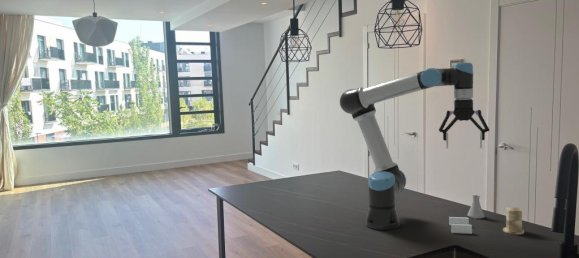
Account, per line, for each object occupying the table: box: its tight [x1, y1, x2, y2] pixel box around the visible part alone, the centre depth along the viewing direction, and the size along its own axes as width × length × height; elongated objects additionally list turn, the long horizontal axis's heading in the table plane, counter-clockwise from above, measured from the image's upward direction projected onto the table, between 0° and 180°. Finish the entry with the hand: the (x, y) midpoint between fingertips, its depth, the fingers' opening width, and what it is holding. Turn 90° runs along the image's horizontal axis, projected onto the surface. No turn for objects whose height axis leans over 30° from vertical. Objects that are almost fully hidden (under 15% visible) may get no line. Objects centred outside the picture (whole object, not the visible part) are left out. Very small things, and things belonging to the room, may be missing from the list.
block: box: [505, 206, 523, 232], centre depth 183 cm, size 5×5×9 cm
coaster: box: [502, 226, 525, 236], centre depth 183 cm, size 8×8×1 cm
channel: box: [448, 216, 473, 235], centre depth 189 cm, size 8×11×4 cm
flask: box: [467, 194, 486, 219], centre depth 204 cm, size 7×7×10 cm
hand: (463, 147), depth 190 cm, fingers open, 13 cm apart
